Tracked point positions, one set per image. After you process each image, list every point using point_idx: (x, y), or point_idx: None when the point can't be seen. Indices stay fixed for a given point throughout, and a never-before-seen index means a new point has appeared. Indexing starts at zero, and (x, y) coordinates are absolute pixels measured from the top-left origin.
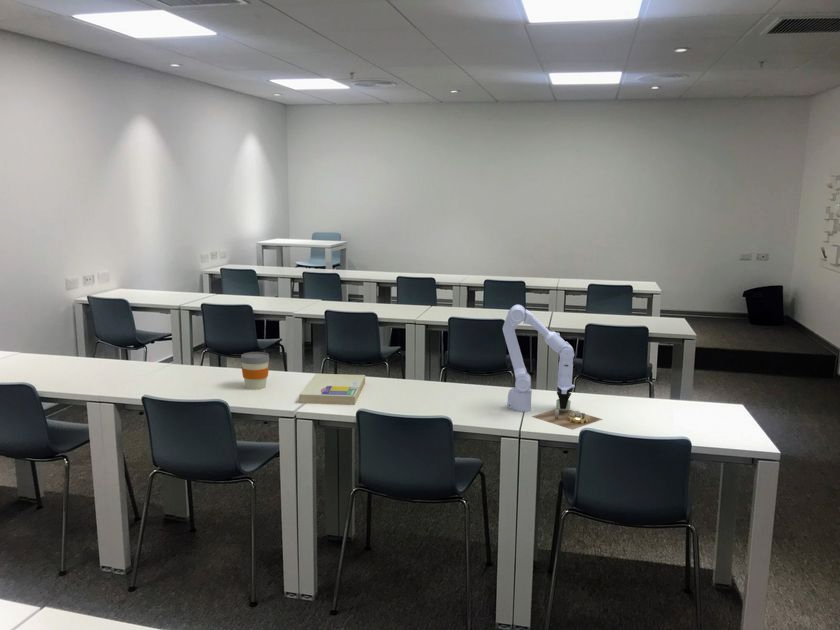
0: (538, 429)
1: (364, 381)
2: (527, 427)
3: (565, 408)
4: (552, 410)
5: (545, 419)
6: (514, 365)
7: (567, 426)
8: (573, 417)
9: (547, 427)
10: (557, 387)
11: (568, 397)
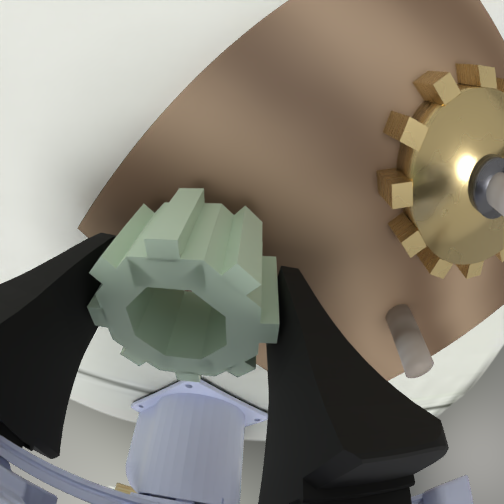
0: (464, 368)
1: (122, 488)
2: (429, 396)
3: (301, 274)
4: None
5: (396, 364)
6: None
7: None
8: (494, 227)
9: (463, 343)
10: (42, 454)
11: (396, 401)
